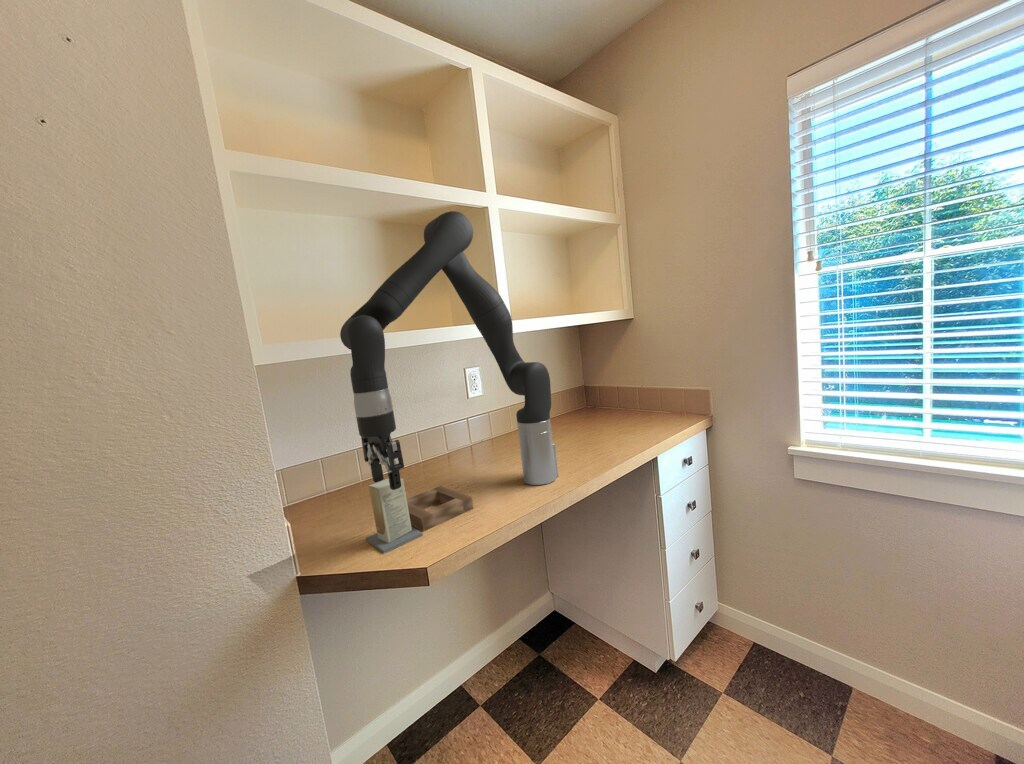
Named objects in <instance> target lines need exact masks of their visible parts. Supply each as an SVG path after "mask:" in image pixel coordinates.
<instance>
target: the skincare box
mask: <svg viewBox="0 0 1024 764" xmlns="http://www.w3.org/2000/svg"><path fill="white" fill-rule="evenodd" d="M400 479H401V487H400V488H398V489H395V490H392V489H390V484H389V478H388V477H387V478H385V479H383V480H382V481H379V482H374V483H373V484H369V485H368V488H369V494H370V500H371V505H372V510H373V517H374V522H375V528H376V533H377V534H378V538H379V539H381V540H383V541H385V542H387V543H390V542H391V541H393V540H395V539H397V538H399V537H401V536H403V535H405V534H406V533H408V532H410V531H412V528H411V527H412V525H411V522H410V516H409V510H408V504H407V499H408V497H407V493H406V489H405V482H404V481H405V480H404V478H401V477H400Z"/></svg>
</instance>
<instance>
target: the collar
mask: <svg viewBox="0 0 1024 764" xmlns="http://www.w3.org/2000/svg"><path fill="white" fill-rule="evenodd" d="M439 503H440V504H439ZM407 504H408V510H409V516H410V522H411V527H413V528H415V529H417V530H419V531H420V532H426V531H428V530H430V529H432V528H435V527H436V526H438V525H440V524H443V523H445V522H447V521H449V520H452V519H454V518H456V517H458V516H460V515H462V514H464V513H467V512H468V511H471V510H474V504H473V497H472V496H470V495H468V494H465V493H462V492H460V491H457V490H454V489H451V488H449V487H446V486H443V485H439V486H436V487H434V488H431V489H428V490H426V491H423V492H421V493H418V494H416V495H415V494H414V496H410V497H407ZM435 504H439V505H437V506H435V507H432V508H430V509H428V510H425V509H427V508H429V507H431V506H434V505H435Z"/></svg>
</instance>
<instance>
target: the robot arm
mask: <svg viewBox="0 0 1024 764" xmlns="http://www.w3.org/2000/svg"><path fill="white" fill-rule="evenodd" d="M473 237H474V229H473V226H472V223H471V221H470V219H469V218H468V217H467V216H466V215H465V214H463V213H461V212H459V211H455V210H454V211H453V210H451V211H446V212H444V213H442V214H439V216H436V218H433V219H432V220H431V221H429V222H428V223H427V225H425V227H424V230H423V240H424V241H423V242H424V244H423V245H422V246H421V247H420V248H419V249H418V250H417V251H416V252H415V253H414V254H413V255H412V256H411V257H410V258H409V259H407V260H406V261H405V262H404V263H403V264H402V265H401V266H399V267H398V268H397V269H396V270H395V271H393V272H392V274H390V275H389V276H388V277H387V279H386V280H384V281H383V283H382V284H381V285H380V286H379V287H378V288H377V290H375V292H374V293H373V294H372V295H371V297H370V298H369V299H368V301H366V302H365V303H364V304H363V305H362V306H360V308H358V309H357V310H356V311H355V312H353V313H352V315H351V316H350V317H349V318H348V319H347V320H346V321H345V322H344V323H343V324H342V326H341V329H340V331H339V332H340V334H339V336H340V340H341V343H342V344H343V345H344V346H345V347H346V348H347V349H348V350H350V352H351V359H352V360H351V361H352V366H351V368H350V373H349V374H350V382H351V388H352V393H353V404H354V405H353V406H354V412H355V418H356V424H357V429H358V435H359V436H360V437H361V439H360V440H361V445H362V446H361V447H362V451H363V457H364V458H363V459H364V462H365V463H367V464H368V466H369V467H370V471H371V476H372V481H373V482H374V483H377V482H380V481H382V480H385V479H384V473H383V472H384V471H383V466H384V467H385V469H386V472H387V478H389V484H390V489H392V490H395V489H398V488H400V487H401V479H402V478H401V475H400V470H401V469H404V468H405V463H404V459H403V458H404V457H403V453H402V448H401V441H400V440H399V439H396V440H392V437H391V434H392V433H393V432H394V431H396V429H397V426H396V425H397V424H396V419H395V413H394V408H393V401H392V396H391V393H390V389H389V386H388V385H389V384H388V379H387V372H386V368H385V366H386V365H385V363H386V362H385V361H386V342H385V339H386V338H385V333H384V330H385V329H386V328H387V327H388V326H389V325H390V324H391V323H393V322H395V321H397V319H398V318H400V316H402V314H404V312H405V311H406V310H407V309H408V307H410V306H411V304H412V303H413V302H414V300H415V299H416V298H417V297H418V296H419V295H420V294H421V292H422V291H423V290H424V289H425V287H426V286H427V285H428V284H429V283H430V282H431V281H432V280H433V278H434V277H436V275H437V274H438V273H439V272H440V271H441V270H442V272H443V273H444V275H445V276H446V277H447V279H448V280H449V282H450V283H451V285H452V287H453V288H454V290H455V292H456V293H457V295H458V297H459V298H460V301H461V302H462V303H463V306H464V307H465V308H466V310H467V312H468V314H469V317H470V318H471V320H472V321H473V323H474V325H475V327H476V329H477V330H478V331H479V333H480V335H481V337H482V338H483V339H484V341H485V343H486V345H487V347H488V349H489V350H490V352H491V354H492V356H493V357H494V359H495V361H496V363H497V365H498V368H499V370H500V373H501V374H502V377H503V379H504V381H505V383H506V385H507V387H508V388H509V390H510V391H511V392H512V393H514V394H515V395H518V396H524V405H523V407H522V408H520V409H518V410H517V411H516V413H515V415H516V425H517V432H518V443H519V450H520V460H521V467H522V470H521V471H522V477H523V482H524V483H525V484H527V485H531V486H542V485H547V484H550V483H551V484H552V482H554V481H555V480H556V479H557V477H559V470H558V469H559V468H558V460H557V459H558V457H557V451H556V444H555V443H554V442H553V435H552V434H553V433H552V425H551V415H550V414H551V413H550V412H551V409H552V390H551V386H552V385H551V377H550V373H549V370H548V368H547V367H546V366H545V364H543V363H541V362H537V361H532V362H531V361H530V362H529V361H528V362H525V361H524V360H523V358H522V357H521V355H520V353H519V351H518V349H517V348H516V345H515V342H514V331H513V320H512V315H511V313H510V310H509V309H508V307H507V306H506V303H505V302H504V300H503V297H501V295H500V293H499V292H498V291H497V290H496V289H495V287H493V286H492V285H491V283H489V282H488V281H487V280H486V279H485V278H483V276H481V275H480V274H479V273H478V272H477V271H476V270H475V269H474V268H473V266H472V265H471V263H470V261H469V260H468V258H467V255H466V254H465V252H464V251H465V250H467V248H469V246H470V245H471V243H472V241H473ZM400 478H401V479H400Z"/></svg>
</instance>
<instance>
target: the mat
mask: <svg viewBox="0 0 1024 764" xmlns="http://www.w3.org/2000/svg"><path fill="white" fill-rule="evenodd" d="M411 528H412V531H410V532H408V533H406V534H405V535H403V536H401V537H399V538H397V539H395V540H393V541H391V542H390V543H387V542H385V541H383V540H381V539H379V538H378V534H377V532H376V533H374V534H372V535H368V536H367V537H365V541H366V542H368V543H369V544H371V545H372V546H373V547H374V548H375V549H377V550H379V551H380V552H381V553H382V554H386V553H388V552H390V551H392V550H394V549H397V548H399V547H400V546H403V545H405V544H407V543H410V542H412V541H414V540H415V539H418V538H420V537H423V536H424V533H423V531H421V530H420V529H418V528H416V527H414V526H411Z"/></svg>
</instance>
